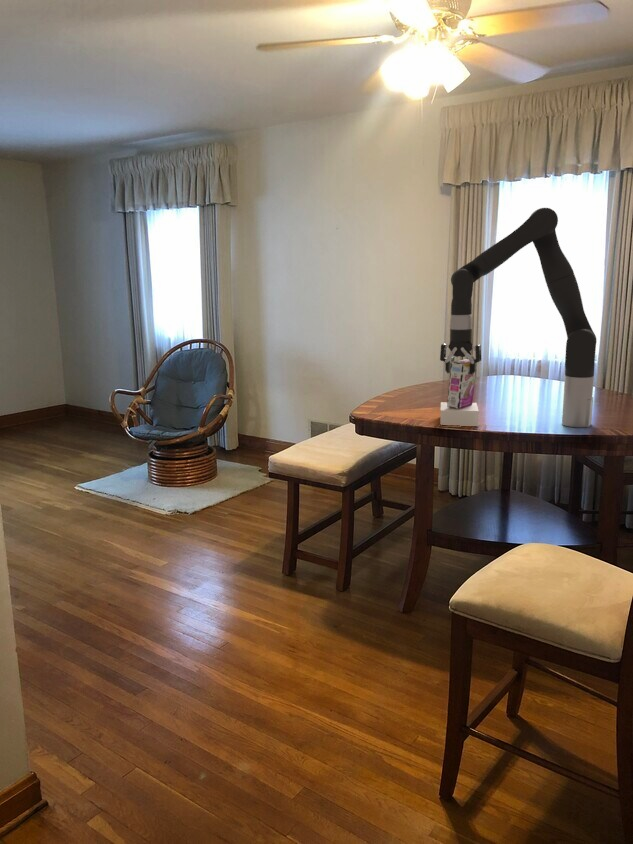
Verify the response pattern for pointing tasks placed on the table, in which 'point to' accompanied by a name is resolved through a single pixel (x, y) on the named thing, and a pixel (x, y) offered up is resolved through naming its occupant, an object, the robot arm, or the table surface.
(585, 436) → the table surface
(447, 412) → the white rectangular block
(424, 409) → the table surface
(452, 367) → the candy bar box
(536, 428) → the table surface
